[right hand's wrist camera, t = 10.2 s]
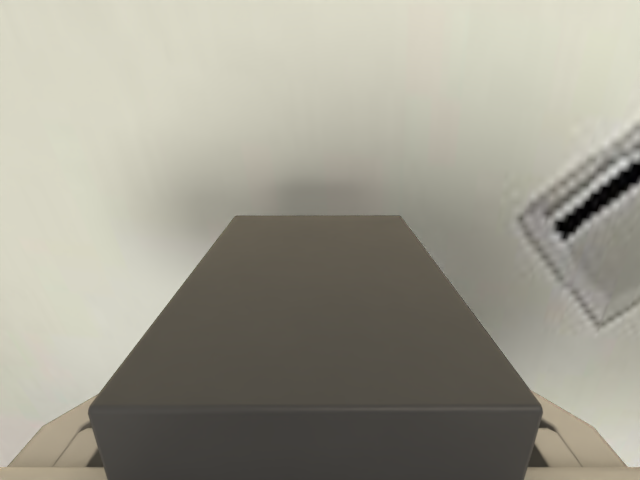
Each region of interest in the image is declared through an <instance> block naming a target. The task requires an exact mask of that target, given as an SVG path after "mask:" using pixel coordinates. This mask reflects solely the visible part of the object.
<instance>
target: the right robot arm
mask: <svg viewBox="0 0 640 480" xmlns="http://www.w3.org/2000/svg"><path fill="white" fill-rule="evenodd" d="M531 392H532V393H533V394H534V396H535V397H536V398H537V400H538V401H539V402H540V404H541V406H542V409H543V415H542V418H541V422H540V425H539V429H538V432H537V436H536V439H535V443H534V446H533V450H532V453H531V457H530V460H529V464H528V467H527V471H526V475H525V478H524V480H640V467H627V466H626V464H625V463H624V462H623V461H622V460H621V459H620V457H619V456H618V455H617V454H616V453H615V452H614V450H613V449H612V448H611V447H610V446H609V445H608V443H607V442H606V441H605V440H604V439H603V438H602V436H601V435H600V434H599V433H598V432H597V430H596V429H595V428H594V427H593V426H591V425H589V424H588V423H586V422H584V421H582V420H581V419H579V418H577V417H576V416H574V415H572V414H571V413H569V412H567V411H565V410H564V409H562V408H560V407H559V406H557V405H555V404H553V403H552V402H550V401H548V400H547V399H545V398H543V397H542V396H540V395H538V394H536V393H535V392H533V391H531ZM96 397H97V395H96V396H94V397H92V398H91V399H89V400H87V401H85V402H84V403H82V404H80V405H79V406H77V407H75V408H73V409H72V410H70V411H68V412H67V413H65V414H63V415H61V416H60V417H58V418H56V419H54V420H53V421H51V422H49V423H48V424H46V425H44V426H42V428H41V429H40V430H39V431H38V432H37V433H36V434H35V436H34V437H33V438H32V439H31V440H30V441H29V442H28V444H27V445H26V446H25V447H24V448H23V449H22V450H21V452H20V453H19V454H18V455H17V456H16V457H15V458H14V460H13V461H12V462H11V463H10V464H9V465H8V466H7V467H0V480H107V477H106V473H105V470H104V467H103V463H102V460H101V457H100V453H99V450H98V446H97V443H96V440H95V436H94V433H93V430H92V426H91V423H90V420H89V416H88V409H89V406H90V405H91V403H92V402H93V401H94V399H95V398H96Z"/></svg>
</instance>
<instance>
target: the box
mask: <svg viewBox="0 0 640 480" xmlns="http://www.w3.org/2000/svg"><path fill="white" fill-rule="evenodd" d="M542 415H543V409H542V406H541V404H540V402H539V401H538V400H537V398H536V397H535V396H534V394H533V393H532V392H531V390H530V389H529V388H528V386H527V385H526V384H525V382H524V381H523V380H522V378H521V377H520V376H519V374H518V373H517V372H516V370H515V369H514V368H513V366H512V365H511V364H510V362H509V361H508V360H507V358H506V357H505V355H504V354H503V353H502V351H501V350H500V349H499V347H498V346H497V345H496V343H495V342H494V341H493V339H492V338H491V337H490V335H489V334H488V333H487V331H486V330H485V329H484V327H483V326H482V325H481V323H480V322H479V321H478V319H477V318H476V317H475V315H474V314H473V313H472V311H471V310H470V309H469V307H468V306H467V305H466V303H465V302H464V300H463V299H462V298H461V296H460V295H459V294H458V292H457V291H456V290H455V288H454V287H453V286H452V284H451V283H450V282H449V280H448V279H447V278H446V276H445V275H444V274H443V272H442V271H441V270H440V268H439V267H438V266H437V264H436V263H435V262H434V260H433V259H432V258H431V256H430V255H429V254H428V252H427V251H426V250H425V248H424V247H423V245H422V244H421V243H420V241H419V240H418V239H417V237H416V236H415V235H414V233H413V232H412V231H411V229H410V228H409V227H408V225H407V224H406V223H405V221H404V220H403V219H402V217H401V216H235V217H234V218H233V220H232V221H231V222H230V223H229V225H228V226H227V227H226V229H225V230H224V231H223V233H222V234H221V235H220V236H219V238H218V239H217V240H216V242H215V243H214V244H213V246H212V247H211V248H210V250H209V251H208V252H207V253H206V255H205V256H204V257H203V259H202V260H201V261H200V263H199V264H198V265H197V266H196V268H195V269H194V270H193V272H192V273H191V274H190V276H189V277H188V278H187V279H186V281H185V282H184V283H183V285H182V286H181V287H180V289H179V290H178V291H177V293H176V294H175V295H174V296H173V298H172V299H171V300H170V302H169V303H168V304H167V306H166V307H165V308H164V309H163V311H162V312H161V313H160V315H159V316H158V317H157V319H156V320H155V321H154V322H153V324H152V325H151V326H150V328H149V329H148V330H147V332H146V333H145V334H144V336H143V337H142V338H141V339H140V341H139V342H138V343H137V345H136V346H135V347H134V349H133V350H132V351H131V352H130V354H129V355H128V356H127V358H126V359H125V360H124V362H123V363H122V364H121V365H120V367H119V368H118V369H117V371H116V372H115V373H114V375H113V376H112V377H111V379H110V380H109V381H108V382H107V384H106V385H105V386H104V388H103V389H102V390H101V392H100V393H99V394H98V395H97V397H96V398H95V399H94V401H93V402H92V403H91V405H90V406H89V409H88V416H89V420H90V423H91V426H92V430H93V433H94V436H95V440H96V443H97V446H98V450H99V453H100V457H101V460H102V463H103V467H104V470H105V473H106V477H107V480H524V478H525V475H526V471H527V467H528V464H529V460H530V457H531V453H532V450H533V446H534V443H535V439H536V436H537V432H538V429H539V425H540V422H541V418H542Z"/></svg>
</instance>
